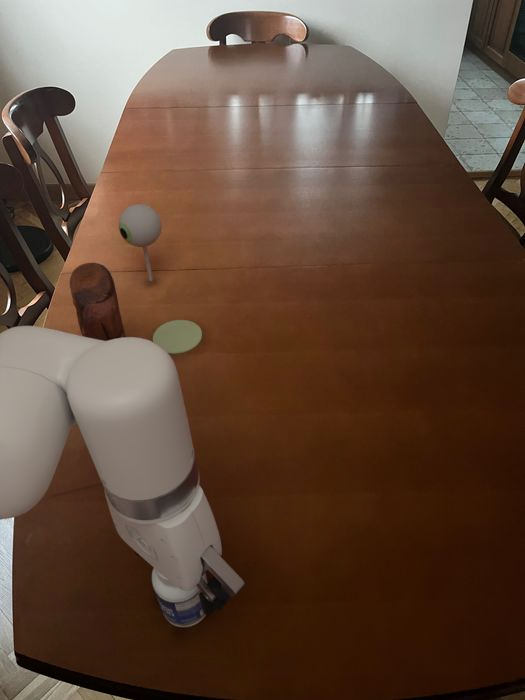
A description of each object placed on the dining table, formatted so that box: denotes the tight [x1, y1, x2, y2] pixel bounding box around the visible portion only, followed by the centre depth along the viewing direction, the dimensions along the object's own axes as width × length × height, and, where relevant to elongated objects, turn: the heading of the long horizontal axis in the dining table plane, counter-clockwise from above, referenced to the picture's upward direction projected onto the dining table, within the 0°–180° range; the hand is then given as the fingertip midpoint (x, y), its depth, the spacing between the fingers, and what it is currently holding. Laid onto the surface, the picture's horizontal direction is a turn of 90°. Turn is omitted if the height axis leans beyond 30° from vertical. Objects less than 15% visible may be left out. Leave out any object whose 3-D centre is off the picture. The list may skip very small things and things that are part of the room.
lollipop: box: [118, 203, 163, 282], centre depth 102 cm, size 7×7×15 cm
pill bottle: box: [151, 567, 209, 628], centre depth 61 cm, size 5×5×10 cm
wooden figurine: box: [69, 262, 127, 341], centre depth 85 cm, size 12×6×18 cm, turn 16°
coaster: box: [152, 319, 203, 355], centre depth 96 cm, size 8×8×1 cm
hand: (181, 572), depth 59 cm, fingers open, 9 cm apart
